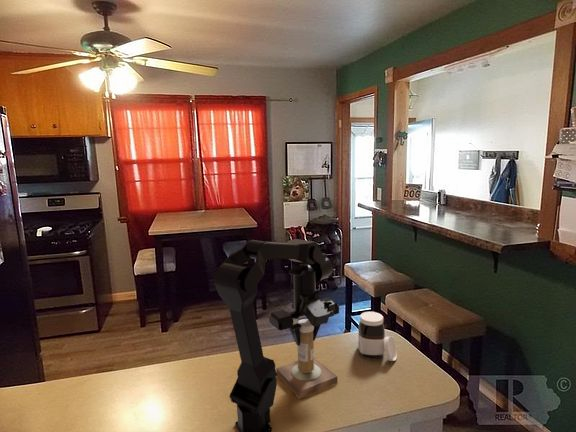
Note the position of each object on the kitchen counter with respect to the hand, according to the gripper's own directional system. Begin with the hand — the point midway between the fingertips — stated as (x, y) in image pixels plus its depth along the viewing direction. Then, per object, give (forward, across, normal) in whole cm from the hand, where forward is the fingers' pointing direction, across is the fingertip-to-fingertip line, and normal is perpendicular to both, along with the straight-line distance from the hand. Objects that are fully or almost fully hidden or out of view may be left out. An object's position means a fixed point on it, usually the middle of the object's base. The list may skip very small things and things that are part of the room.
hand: (305, 342), depth 100 cm
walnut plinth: (+11, 0, 0) cm, 11 cm away
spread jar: (+11, +25, -1) cm, 27 cm away
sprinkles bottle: (+8, 0, 0) cm, 8 cm away
